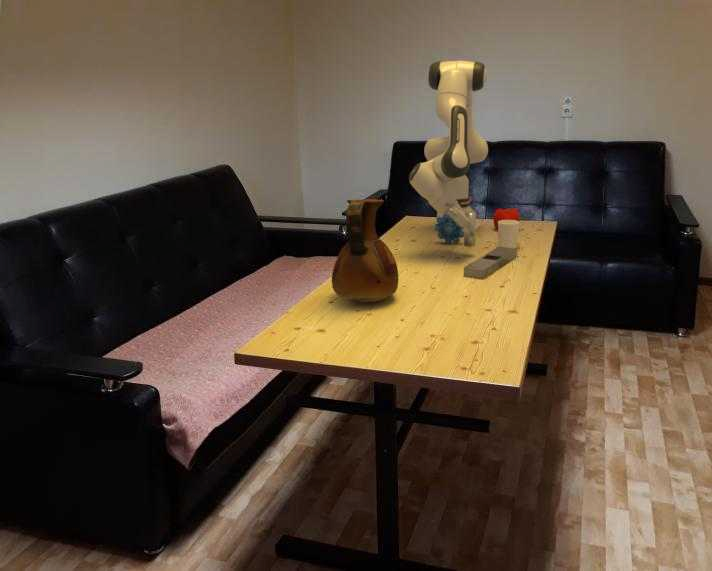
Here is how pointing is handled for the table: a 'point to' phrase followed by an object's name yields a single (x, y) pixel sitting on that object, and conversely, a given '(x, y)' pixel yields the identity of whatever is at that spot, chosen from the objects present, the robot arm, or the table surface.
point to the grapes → (448, 229)
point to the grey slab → (490, 262)
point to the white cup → (508, 233)
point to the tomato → (505, 215)
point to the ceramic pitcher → (364, 257)
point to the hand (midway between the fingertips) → (471, 227)
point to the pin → (469, 235)
